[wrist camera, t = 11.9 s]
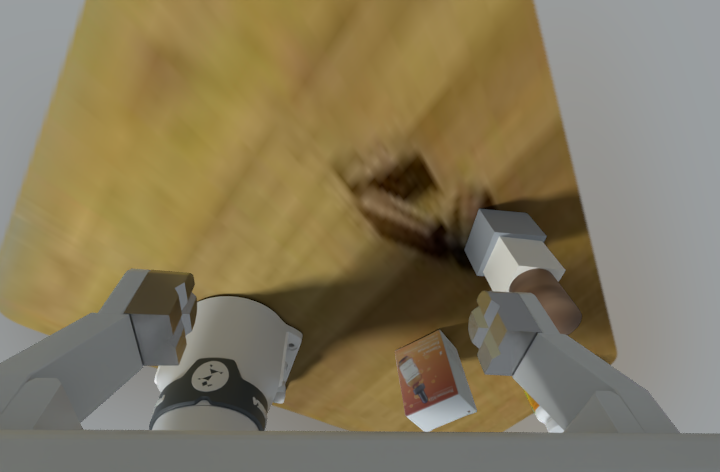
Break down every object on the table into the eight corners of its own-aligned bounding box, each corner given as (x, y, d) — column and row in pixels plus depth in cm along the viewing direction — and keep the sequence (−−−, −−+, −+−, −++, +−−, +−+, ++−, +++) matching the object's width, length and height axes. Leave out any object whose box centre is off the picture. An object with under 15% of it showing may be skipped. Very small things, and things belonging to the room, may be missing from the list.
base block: (508, 252, 48) (525, 278, 44) (464, 249, 48) (477, 275, 43) (526, 212, 45) (546, 236, 41) (478, 208, 44) (494, 232, 40)
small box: (439, 327, 55) (460, 392, 47) (456, 347, 58) (479, 412, 49) (393, 350, 57) (404, 417, 49) (411, 368, 60) (425, 434, 52)
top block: (523, 276, 44) (543, 306, 40) (482, 272, 43) (499, 303, 39) (541, 240, 41) (565, 270, 37) (499, 236, 41) (518, 265, 36)
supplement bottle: (510, 377, 64) (537, 435, 56) (534, 359, 61) (565, 416, 53) (533, 386, 65) (561, 443, 57) (556, 368, 63) (590, 425, 55)
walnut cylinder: (542, 304, 40) (566, 342, 35) (502, 300, 39) (522, 338, 35) (562, 270, 37) (591, 307, 33) (519, 266, 36) (544, 303, 32)
